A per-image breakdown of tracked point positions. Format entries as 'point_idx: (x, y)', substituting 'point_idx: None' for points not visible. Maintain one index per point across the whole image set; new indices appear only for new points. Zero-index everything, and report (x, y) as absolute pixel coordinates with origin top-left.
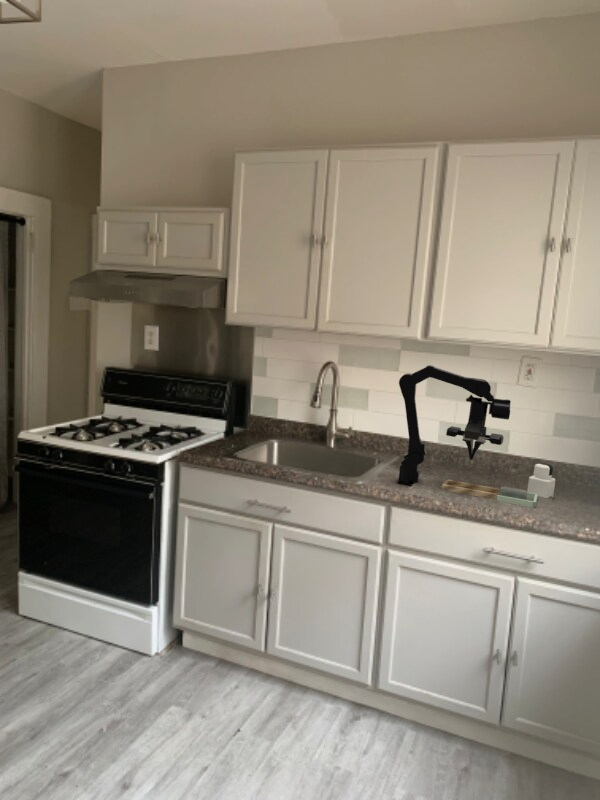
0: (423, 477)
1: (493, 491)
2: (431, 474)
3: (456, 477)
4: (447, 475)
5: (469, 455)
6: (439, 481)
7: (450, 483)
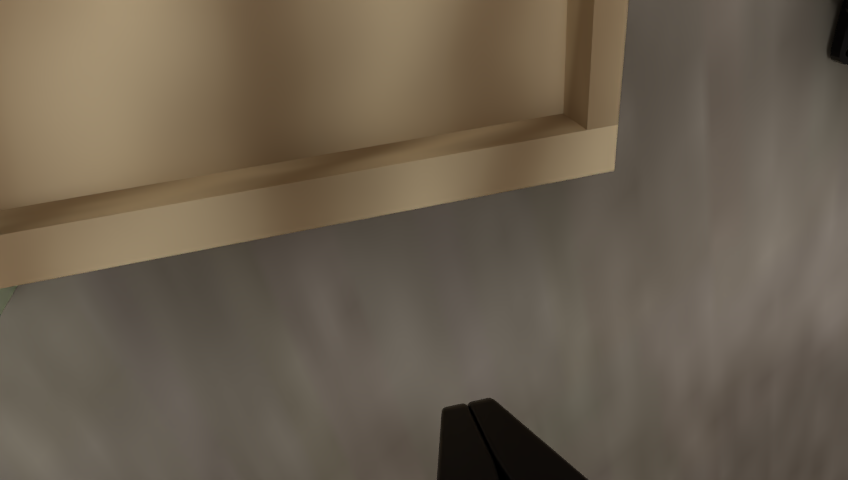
0: (775, 271)
1: (37, 214)
2: (719, 393)
3: None
4: (611, 462)
5: (541, 445)
6: (650, 269)
7: (557, 123)
